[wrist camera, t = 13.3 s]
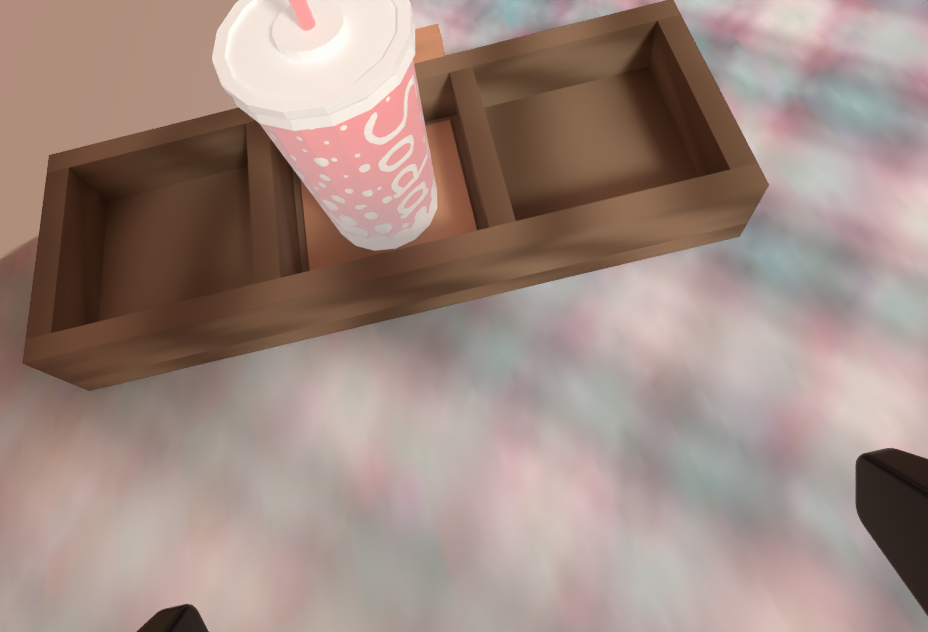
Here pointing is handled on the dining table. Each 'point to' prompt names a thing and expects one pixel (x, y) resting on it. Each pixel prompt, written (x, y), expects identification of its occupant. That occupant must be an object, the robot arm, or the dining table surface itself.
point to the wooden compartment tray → (415, 263)
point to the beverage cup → (338, 107)
